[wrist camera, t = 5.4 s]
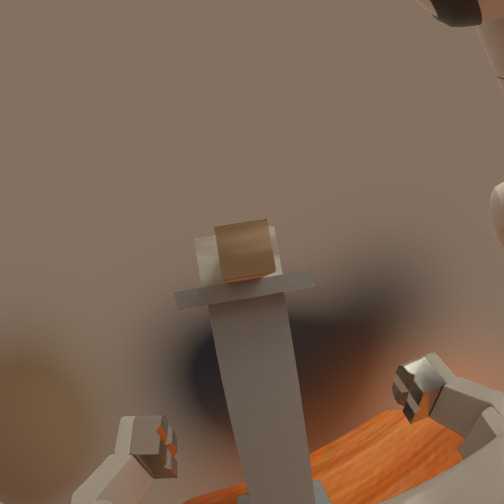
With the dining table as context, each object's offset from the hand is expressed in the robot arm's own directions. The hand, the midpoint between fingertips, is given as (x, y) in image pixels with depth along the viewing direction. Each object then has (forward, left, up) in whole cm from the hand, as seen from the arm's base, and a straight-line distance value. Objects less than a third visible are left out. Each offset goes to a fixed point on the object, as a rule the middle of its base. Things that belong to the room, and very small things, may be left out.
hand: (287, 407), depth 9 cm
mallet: (0, -16, +5) cm, 17 cm away
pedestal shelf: (0, -22, -27) cm, 35 cm away
